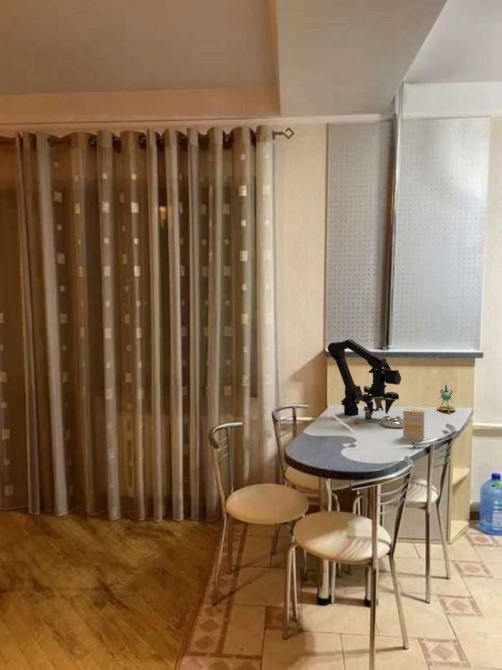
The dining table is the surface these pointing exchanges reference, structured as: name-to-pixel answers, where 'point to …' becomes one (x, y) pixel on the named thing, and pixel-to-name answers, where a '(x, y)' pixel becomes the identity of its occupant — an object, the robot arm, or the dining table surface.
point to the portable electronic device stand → (378, 405)
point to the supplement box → (413, 424)
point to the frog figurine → (446, 397)
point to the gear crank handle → (386, 420)
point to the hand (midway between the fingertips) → (378, 414)
